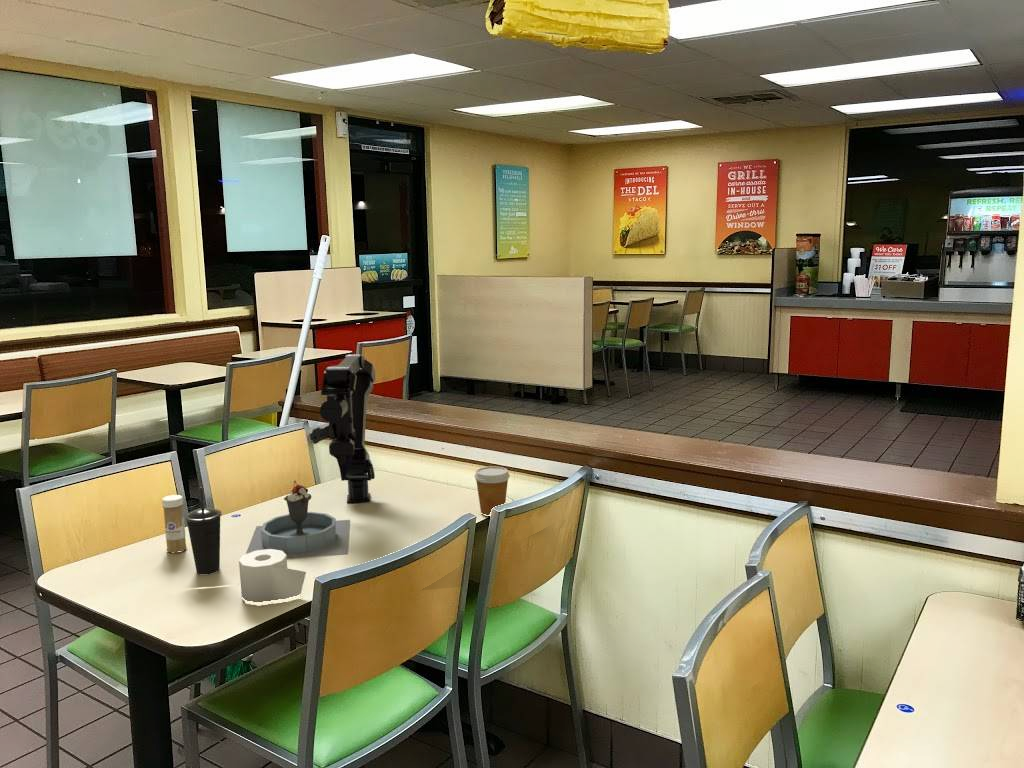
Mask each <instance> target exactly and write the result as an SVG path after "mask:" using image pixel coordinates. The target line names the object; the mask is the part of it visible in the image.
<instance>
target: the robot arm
mask: <svg viewBox="0 0 1024 768" xmlns="http://www.w3.org/2000/svg"><path fill="white" fill-rule="evenodd" d="M375 382H376V371H375V368H374V365H373V364H372V362H370V361H368V360H367V359H365V356H364V355H363V354H361V353H359V354H358V353H355V354H354V353H348V354H347V355H346V354H345V356H344V359H343V360H341V362H340V363H339V364H337V365H330V366H328V367H326V369H325V370H324V372H323V375H322V384H321V391H320V394H321V396H326V400H325V401H324V402H323V403H322V404H321V405H320V409H319V414H320V415H319V416H320V417H321V418H322V420H324V421H325V422H326V423H323V424H320V425H318V426H315V427H313V428H311V429H309V430H308V435H309V439H310V440H311V442H312V444H314V445H316V444H318V443H319V442H321V441H322V442H323V440H326V439H328V438H329V441H330V440H331V441H330V442H329V445H328V449H329V450H328V452H329V454H330V456H332V457H334V458H335V460H336V461H337V465H338V469H339V475H340V479H341V481H342V482H343V481H347V491H348V492H347V495H346V496H347V497H346V503H348V504H349V503H364V502H365V503H366V502H368V503H369V502H370V501H371V492H369V481H372V480H374V479H375V478H376V477H375V469H374V465H373V463H372V460H371V459H370V454H369V452H368V450H367V448H366V447H365V441H366V423H367V422H366V421H367V419H366V418H367V403H368V402H367V401H368V396H369V395H370V394H371V393H372V391H373V389H374V383H375Z"/></svg>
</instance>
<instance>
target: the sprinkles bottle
mask: <svg viewBox="0 0 1024 768" xmlns="http://www.w3.org/2000/svg"><path fill="white" fill-rule="evenodd" d="M161 504H162V508H163V517H164V532H165V539H166V552H167V551H168V552H167V553H169V552H178V551H182V550H185V549H186V548H187V541H186V527H185V516H184V507H183V506H184V499H183V496H182V495H180V494H171V495H167V496H164V497H162V500H161ZM187 549H188V548H187ZM187 549H186V550H187ZM186 550H185V551H186ZM182 552H183V551H182Z"/></svg>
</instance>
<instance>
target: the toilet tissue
mask: <svg viewBox="0 0 1024 768" xmlns="http://www.w3.org/2000/svg"><path fill="white" fill-rule="evenodd" d="M238 567H239V579H240V581H239V582H240V589H241V591H240V592H241V593H240V594H241V598H242V597H243V598H244V599H245V600H247V601H253V602H263V601H271V600H278V599H286V598H289V597H293V596H297V595H299V594H302V590H303V585H304V582H305V577H306V574H307V571H304V570H303V571H302V570H299V569H298V570H297V569H291V568H288V559H287V555H286V554H285V553H284V552H283V551H281V550H275V549H265V550H256V551H253V552H251V553H248V554H246V553H245V554H243V556H241V557H240V558H239V560H238Z"/></svg>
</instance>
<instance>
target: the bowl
mask: <svg viewBox="0 0 1024 768" xmlns="http://www.w3.org/2000/svg"><path fill="white" fill-rule="evenodd" d="M336 521H337V519H336V518H335V517H333V516H332V515H330V514H328V513H325V512H324V513H323V512H316V511H315V512H314V511H308V513H307V518H306V519H305V520H304V521H303V522H302V531H303V532H308V533H309V534H308V535H301V536H290V535H291V534H293V533H295V532H296V530H297V524H296V523H295V522H294V521H292V520H291V518H290V515H289V513H287V514H284V515H280V516H275V517H273V518H271V519H269V520H267V521H266V522H264V523H263V524H262V525H261V526H262V529H261V537H262V546H263V547H264V548H266V549H275V550H281V551H283V552H284V553H285V554H291V553H304V552H310V551H313V550H317V549H320V548H324V547H326V546H328V545H329V544H331V543H332V542H334V541H335V540H336Z"/></svg>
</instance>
